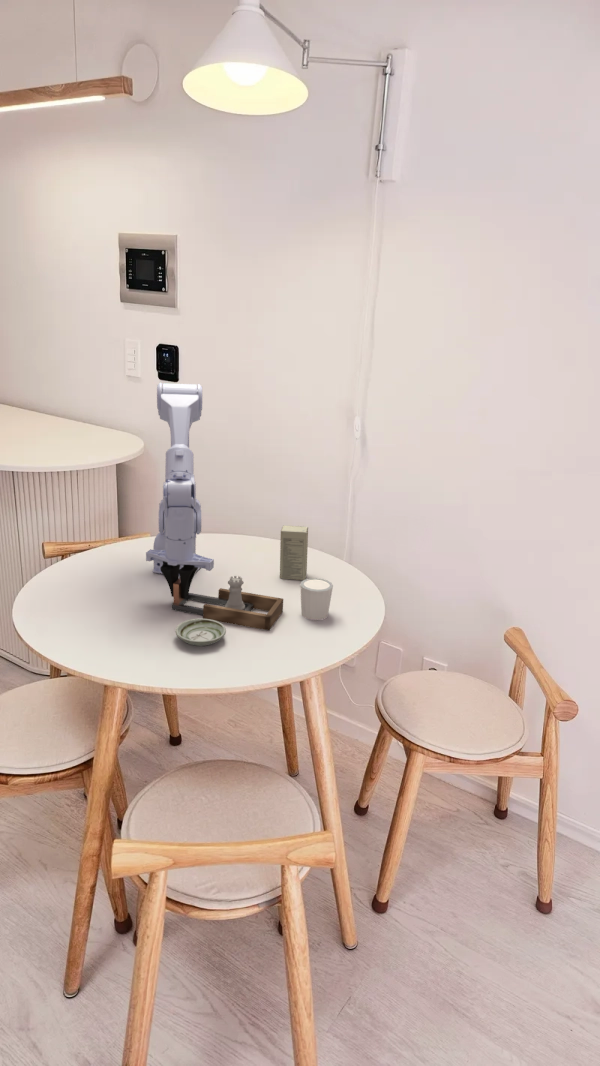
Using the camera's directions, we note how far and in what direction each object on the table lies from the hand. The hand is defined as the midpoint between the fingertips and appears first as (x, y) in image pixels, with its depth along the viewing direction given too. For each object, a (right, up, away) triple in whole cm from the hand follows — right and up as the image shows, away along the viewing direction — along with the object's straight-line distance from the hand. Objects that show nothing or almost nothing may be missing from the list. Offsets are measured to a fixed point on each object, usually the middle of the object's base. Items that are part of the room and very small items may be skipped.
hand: (179, 595), depth 149 cm
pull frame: (+7, -3, -1) cm, 8 cm away
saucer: (+6, -8, -14) cm, 17 cm away
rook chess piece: (+12, -4, -2) cm, 13 cm away
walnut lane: (+14, -4, -3) cm, 14 cm away
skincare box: (+24, +3, +18) cm, 30 cm away
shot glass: (+29, -4, 0) cm, 29 cm away
